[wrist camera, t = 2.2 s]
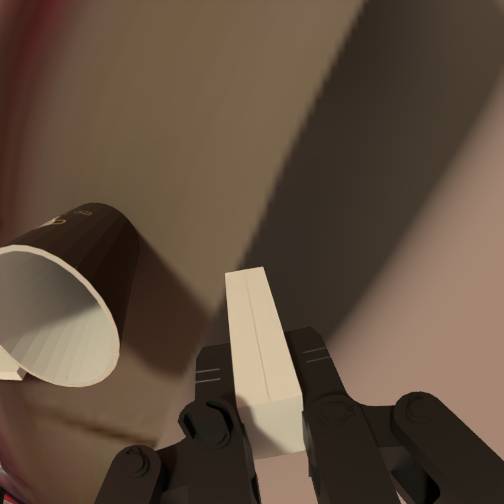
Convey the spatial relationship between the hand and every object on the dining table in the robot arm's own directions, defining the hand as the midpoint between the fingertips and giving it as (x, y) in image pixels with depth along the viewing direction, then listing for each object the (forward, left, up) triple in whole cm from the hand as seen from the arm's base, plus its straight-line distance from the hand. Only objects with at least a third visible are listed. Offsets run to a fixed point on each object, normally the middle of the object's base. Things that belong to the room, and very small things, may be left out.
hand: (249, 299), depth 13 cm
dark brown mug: (+12, 0, -10) cm, 16 cm away
